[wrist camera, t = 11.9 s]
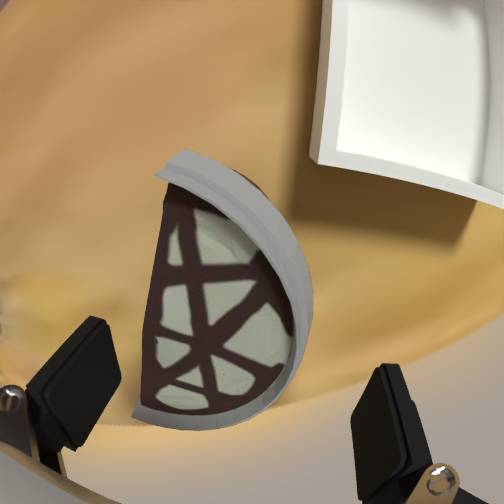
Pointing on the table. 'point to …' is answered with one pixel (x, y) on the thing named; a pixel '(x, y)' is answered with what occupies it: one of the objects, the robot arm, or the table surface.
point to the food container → (220, 301)
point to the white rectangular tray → (413, 93)
